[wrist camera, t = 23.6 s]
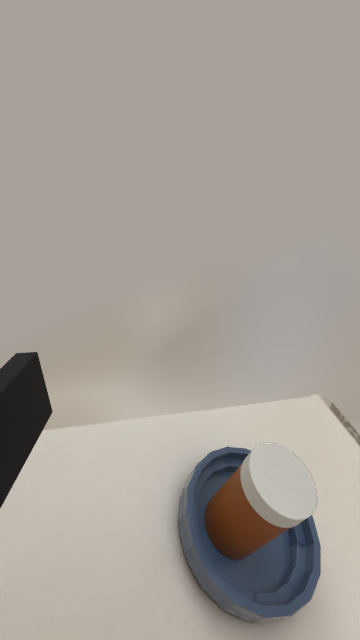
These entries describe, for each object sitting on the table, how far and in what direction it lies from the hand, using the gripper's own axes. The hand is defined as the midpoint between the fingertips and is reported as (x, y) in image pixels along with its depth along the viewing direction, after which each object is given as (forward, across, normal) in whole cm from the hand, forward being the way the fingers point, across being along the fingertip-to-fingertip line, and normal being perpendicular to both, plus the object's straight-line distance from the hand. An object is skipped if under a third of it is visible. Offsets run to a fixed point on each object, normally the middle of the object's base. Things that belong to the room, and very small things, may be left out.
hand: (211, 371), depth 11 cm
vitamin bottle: (+10, +4, -26) cm, 28 cm away
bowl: (+10, +5, -27) cm, 29 cm away
